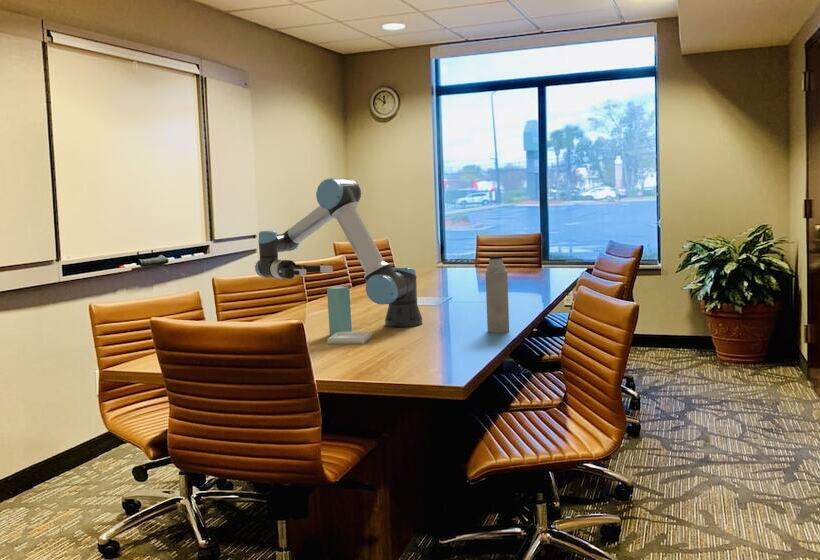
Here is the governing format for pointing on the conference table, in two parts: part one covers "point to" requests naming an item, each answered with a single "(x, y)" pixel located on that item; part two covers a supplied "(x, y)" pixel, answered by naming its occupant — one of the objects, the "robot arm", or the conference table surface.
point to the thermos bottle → (497, 296)
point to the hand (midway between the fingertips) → (319, 271)
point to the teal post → (339, 309)
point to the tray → (350, 337)
